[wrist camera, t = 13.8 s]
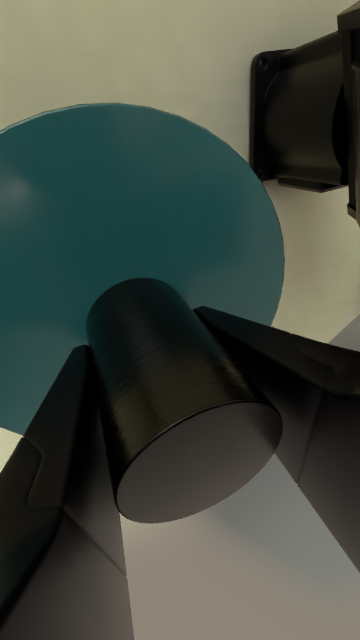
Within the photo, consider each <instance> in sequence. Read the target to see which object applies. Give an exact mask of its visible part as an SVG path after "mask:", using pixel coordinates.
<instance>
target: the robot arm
mask: <svg viewBox="0 0 360 640" xmlns="http://www.w3.org/2000/svg"><path fill="white" fill-rule="evenodd" d="M337 24H338V31H336V32H333V33H331V34H329V35H326V36H324V37H321V38H319V39H316V40H314V41H312V42H309V43H307V44H304V45H302V46H299V47H297V48H294V49H286V50H276V51H267V52H262V53H260V54H257V55H256V56H255V57H254V58H253V61H252V65H251V122H250V167H251V169H252V170H253V171H254V173H255V174H256V173H257V171H259V176H258V178H259V179H260V181H261V182H263V181H267V180H272V179H276V178H278V182H277V183H278V184H279V185H280V186H284V187H290V188H296V189H301V190H307V191H313V192H319V193H323V192H327V191H331V190H335V189H339V188H343V187H347V186H348V187H349V203H348V204H347V209H348V214H349V215H350V216H352V217H353V218H354V219H356V221H357V223H358V225H359V227H360V1H358V2H357V3H355V4H354V5H352V6H351V7H349V8H348V9H346V10H345V11H343V12H342V13H340V14H339V15H337ZM260 60H261V61H262V63H263V67H262V70H261V69H260V67H259V63H260ZM193 311H194V312H195V313H196V314H197V315H198V317H199V318H200V319H201V320H202V321H203V322H204V324H205V325H206V326H207V327H208V328H209V329H210V331H211V332H212V333H213V334H214V335H215V337H216V338H217V339H218V340H219V341H220V342H221V344H222V345H223V346H224V347H225V348H226V350H227V351H228V352H229V353H230V354H231V355H232V357H233V358H234V359H235V360H236V361H237V362H238V364H239V365H240V366H241V367H242V368H243V370H244V371H245V372H246V373H247V374H248V375H249V377H250V378H251V379H252V380H253V381H254V383H255V384H256V385H257V386H258V387H259V388H260V390H261V391H262V392H263V393H264V394H265V396H266V397H267V398H268V399H269V400H270V401H271V403H272V404H273V405H274V406H275V407H276V409H277V410H278V411H279V412H280V415H281V417H282V421H283V433H282V437H281V440H280V442H279V445H278V447H277V449H276V450H275V452H274V453H275V454H276V455H277V457H278V458H279V460H280V461H281V463H282V464H283V465H284V467H285V468H286V470H287V471H288V472H289V473H290V475H291V477H292V478H293V479H294V481H295V482H296V483H297V484H298V487H299V488H300V490H301V491H302V492H303V494H304V495H305V496H306V498H307V499H308V501H309V502H310V504H311V505H312V506H313V508H314V509H315V510H316V512H317V513H318V515H319V516H320V518H321V519H322V520H323V522H324V523H325V525H326V526H327V527H328V529H329V530H330V532H331V533H332V535H333V536H334V537H335V539H336V540H337V542H338V543H339V544H340V546H341V547H342V548H343V550H344V551H345V553H346V554H347V556H348V557H349V558H350V560H351V561H352V562H353V564H354V566H355V567H356V568H357V570H358V571H359V572H360V352H359V351H354V350H350V349H346V348H342V347H338V346H334V345H330V344H326V343H322V342H319V341H315V340H312V339H308V338H305V337H302V336H299V335H295V334H290V333H289V332H286V331H283V330H279V329H276V328H273V327H270V326H267V325H263V324H260V323H257V322H254V321H251V320H248V319H244V318H241V317H238V316H235V315H232V314H229V313H225V312H222V311H219V310H216V309H213V308H210V307H206V306H200V307H197V308H194V309H193ZM120 523H121V522H120V515H119V511H118V509H117V508H116V505H115V503H114V497H113V491H112V485H111V479H110V473H109V467H108V461H107V455H106V449H105V443H104V437H103V431H102V425H101V419H100V413H99V407H98V401H97V395H96V389H95V383H94V377H93V371H92V365H91V359H90V353H89V347H88V346H87V345H86V344H84V345H81V346H78V347H75V348H73V350H72V351H71V353H70V355H69V357H68V358H67V360H66V362H65V363H64V365H63V367H62V369H61V370H60V372H59V374H58V376H57V377H56V379H55V381H54V382H53V384H52V386H51V388H50V389H49V391H48V393H47V395H46V396H45V398H44V400H43V402H42V403H41V405H40V407H39V408H38V410H37V412H36V414H35V415H34V417H33V419H32V421H31V422H30V424H29V426H28V427H27V429H26V431H25V433H24V434H23V437H22V438H21V439H20V441H19V443H18V445H17V446H16V448H15V450H14V451H13V453H12V455H11V456H10V458H9V460H8V461H7V463H6V465H5V466H4V468H3V469H2V471H1V473H0V640H134V635H133V627H132V618H131V609H130V600H129V592H128V583H127V578H126V566H125V557H124V549H123V540H122V533H121V524H120Z"/></svg>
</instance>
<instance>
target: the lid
mask: <svg viewBox="0 0 360 640" xmlns="http://www.w3.org/2000/svg"><path fill="white" fill-rule="evenodd" d="M284 263H285V257H284V245H283V237H282V233H281V228H280V223H279V220H278V217H277V214H276V211H275V209H274V206H273V203H272V201H271V199H270V197H269V195H268V193H267V191H266V190H265V188H264V186H263V184H262V182H261V181H260V179H259V178H258V177H257V175H256V174H255V173H254V171H253V170H252V169H251V167H250V166H249V165H248V163H247V162H246V161H245V160H244V159H243V158H242V157H241V156H240V155H239V154H238V153H237V152H236V151H235V150H234V149H232V148H231V147H230V146H229V145H228V144H227V143H226V142H224V141H223V140H221V139H220V138H218V137H217V136H216V135H214V134H213V133H211V132H210V131H208V130H207V129H205V128H203V127H201V126H199V125H197V124H195V123H193V122H191V121H189V120H187V119H185V118H183V117H180V116H178V115H174V114H171V113H168V112H164V111H161V110H158V109H154V108H151V107H145V106H137V105H129V104H121V103H97V104H78V105H74V106H69V107H64V108H59V109H55V110H50V111H45V112H42V113H39V114H37V115H34V116H32V117H29V118H27V119H24V120H22V121H19V122H17V123H14V124H12V125H9V126H7V127H6V128H4V129H2V130H1V131H0V427H2V428H4V429H7V430H10V431H12V432H15V433H18V434H20V435H23V434H24V433H25V431H26V429H27V427H28V426H29V424H30V422H31V421H32V419H33V417H34V415H35V414H36V412H37V410H38V408H39V407H40V405H41V403H42V402H43V400H44V398H45V396H46V395H47V393H48V391H49V389H50V388H51V386H52V384H53V382H54V381H55V379H56V377H57V376H58V374H59V372H60V370H61V369H62V367H63V365H64V363H65V362H66V360H67V358H68V357H69V355H70V353H71V351H72V350H73V348H75V347H78V346H81V345H84V344H86V345H87V346H88V347H89V353H90V359H91V365H92V371H93V377H94V383H95V389H96V395H97V401H98V407H99V413H100V419H101V425H102V431H103V437H104V443H105V449H106V455H107V461H108V467H109V473H110V479H111V485H112V491H113V497H114V503H115V505H116V508H117V509H118V511H119V512H120V513H121V514H122V515H123V516H124V517H126V518H127V519H129V520H132V521H134V522H139V523H149V524H150V523H163V522H169V521H173V520H177V519H181V518H184V517H187V516H190V515H193V514H196V513H198V512H200V511H202V510H205V509H207V508H209V507H211V506H213V505H215V504H217V503H218V502H220V501H222V500H223V499H225V498H227V497H228V496H230V495H231V494H233V493H234V492H236V491H237V490H239V489H240V488H241V487H242V486H244V485H245V484H246V483H247V482H249V481H250V480H251V479H252V478H253V477H254V476H255V475H256V474H257V473H258V472H259V471H260V470H261V469H262V468H263V467H264V466H265V465H266V463H267V462H268V461H269V459H270V458H271V457H272V455H273V454H274V452H275V450H276V449H277V447H278V445H279V442H280V440H281V437H282V433H283V421H282V417H281V415H280V412H279V411H278V410H277V409H276V407H275V406H274V405H273V404H272V403H271V401H270V400H269V399H268V398H267V397H266V396H265V394H264V393H263V392H262V391H261V390H260V388H259V387H258V386H257V385H256V384H255V383H254V381H253V380H252V379H251V378H250V377H249V375H248V374H247V373H246V372H245V371H244V370H243V368H242V367H241V366H240V365H239V364H238V362H237V361H236V360H235V359H234V358H233V357H232V355H231V354H230V353H229V352H228V351H227V350H226V348H225V347H224V346H223V345H222V344H221V342H220V341H219V340H218V339H217V338H216V337H215V335H214V334H213V333H212V332H211V331H210V329H209V328H208V327H207V326H206V325H205V324H204V322H203V321H202V320H201V319H200V318H199V317H198V315H197V314H196V313H195V312H194V311H193V309H194V308H197V307H200V306H206V307H210V308H213V309H216V310H219V311H222V312H225V313H229V314H232V315H235V316H238V317H241V318H244V319H248V320H251V321H254V322H257V323H260V324H263V325H267V326H270V327H271V324H272V322H273V319H274V316H275V314H276V311H277V308H278V304H279V300H280V297H281V292H282V286H283V280H284Z"/></svg>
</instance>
